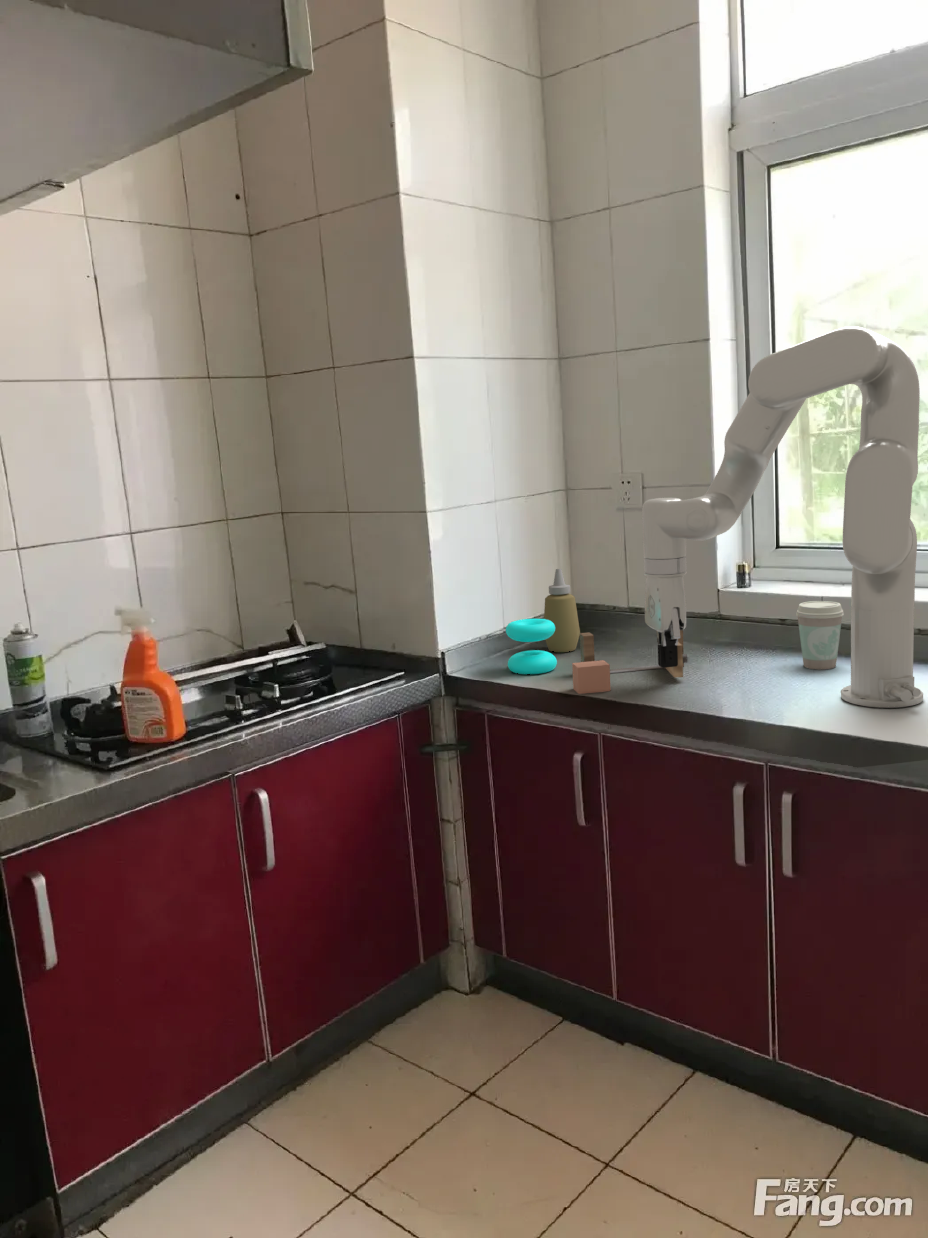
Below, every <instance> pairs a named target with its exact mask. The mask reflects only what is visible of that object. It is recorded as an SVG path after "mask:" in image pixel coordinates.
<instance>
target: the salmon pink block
mask: <svg viewBox="0 0 928 1238" xmlns="http://www.w3.org/2000/svg"><path fill="white" fill-rule="evenodd" d="M571 665H572V667H571V669H572V685H573V686H572V688H573V690H574V691H575V692H576V693H577V694H578V695H583V694H592V693H603V692H611V687H612V686H611V674H610V670H611V669H610V668H611V665H610V664H609V663H608V662H607V661H605V660H595V661H589V662H581V661H580V662H572V664H571Z"/></svg>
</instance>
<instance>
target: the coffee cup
mask: <svg viewBox="0 0 928 1238" xmlns="http://www.w3.org/2000/svg"><path fill="white" fill-rule="evenodd" d="M795 615H796V617H797V623H798V630H799V631H798V632H799V638H800V639H799V641H800V647H801V655H802V664H803V667H804V668H805V669H810V670H819V671H820V670H831V669H834V668H836V666H837V661H838V651H839V644H840V637H841V636H840V634H841V630H842V629H841V628H842V627H841V626H842V621H843V620H842V619H843V616H844V615H845V613H844V609H843V607H842V605H841V603H840V602H836V601H827V600H825V601H824V600H812V601H805V602H804V601H803V602H801V603H799V604H798V607H797V610H796V613H795Z"/></svg>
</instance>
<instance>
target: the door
mask: <svg viewBox="0 0 928 1238" xmlns="http://www.w3.org/2000/svg"><path fill="white" fill-rule="evenodd" d="M659 645H661V644H659ZM677 649H678V666H676V667H666V668H665V669H666V671H668V673H670V675H671V676H672V677H673V678H684V667H683V663H684V664H687V663H688V655H687V654H686V653H684V654H682V645H681V644H680V643H679V642H678V645H677Z"/></svg>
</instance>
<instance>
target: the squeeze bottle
mask: <svg viewBox="0 0 928 1238" xmlns="http://www.w3.org/2000/svg"><path fill="white" fill-rule="evenodd" d="M553 579H554V580H553V583H552V584H551V585H549V586H548V593H549V595H547V596H546V597H545V598H544V609H543V610H544V613H543V619H546V620H550V621H552V622H553V623H554V625H555V632H554V634H553V635H552V636H551V637H549V638H547V639H545V640H544V641H545V644H546V646H547V648H548V651H549V652H552V651H554V652H553V653H568V652H569V651H570V652H572V651H575V650H576V649H577V646H578V643H579V640H580V633H581V628H580V623H579V616H578V609H577V603H576V597H575V596H574V595H573V594H571V585H570V584H566V582H565V579H564V574H563V570H562V568H557V569H555V572H554V578H553ZM570 652H569V653H570Z"/></svg>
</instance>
